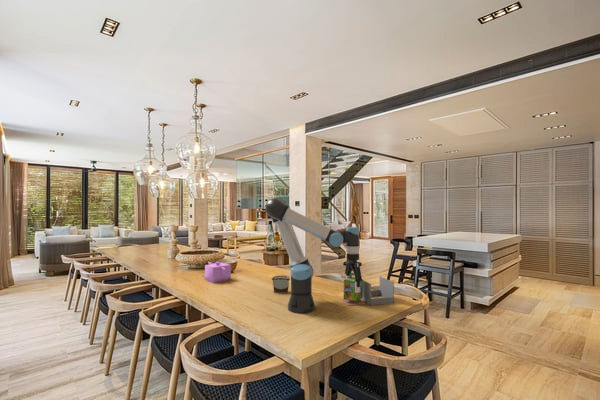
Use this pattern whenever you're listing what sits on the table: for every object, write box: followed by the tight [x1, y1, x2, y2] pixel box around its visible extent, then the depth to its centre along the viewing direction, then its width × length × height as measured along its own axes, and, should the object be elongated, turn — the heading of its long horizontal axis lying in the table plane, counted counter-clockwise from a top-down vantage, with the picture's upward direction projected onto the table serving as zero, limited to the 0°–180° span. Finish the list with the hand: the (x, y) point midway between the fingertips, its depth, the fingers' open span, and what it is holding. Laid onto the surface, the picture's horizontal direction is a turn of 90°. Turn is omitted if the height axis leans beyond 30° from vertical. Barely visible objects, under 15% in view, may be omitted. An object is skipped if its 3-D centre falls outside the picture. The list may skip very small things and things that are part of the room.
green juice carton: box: [343, 272, 364, 302], centre depth 177 cm, size 9×9×15 cm
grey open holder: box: [361, 275, 395, 306], centre depth 181 cm, size 15×16×12 cm
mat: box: [341, 298, 367, 307], centre depth 177 cm, size 11×11×1 cm
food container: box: [271, 275, 291, 294], centre depth 201 cm, size 12×6×10 cm, turn 84°
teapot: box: [204, 261, 232, 284], centre depth 235 cm, size 15×25×14 cm, turn 44°
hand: (353, 289), depth 177 cm, fingers closed on green juice carton, 12 cm apart
